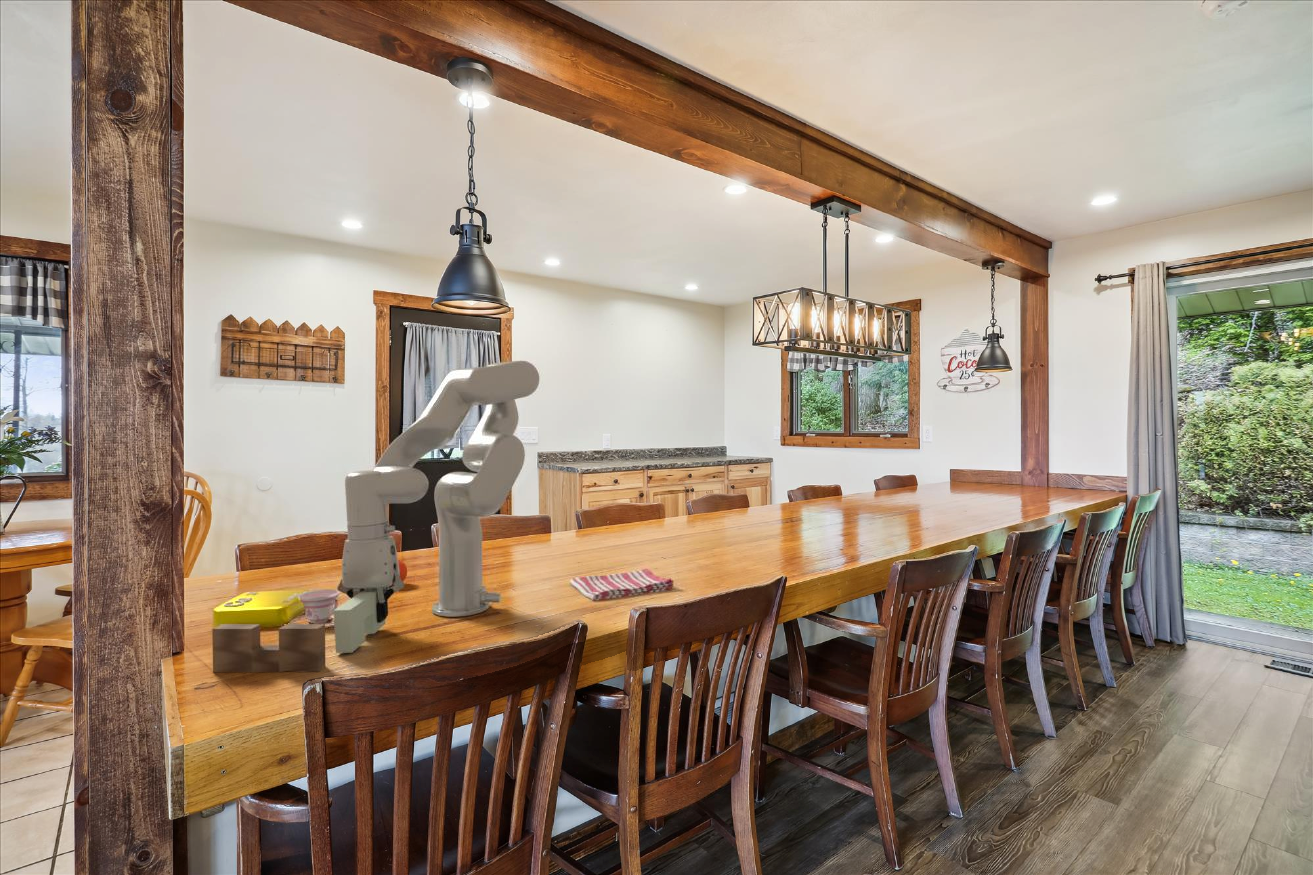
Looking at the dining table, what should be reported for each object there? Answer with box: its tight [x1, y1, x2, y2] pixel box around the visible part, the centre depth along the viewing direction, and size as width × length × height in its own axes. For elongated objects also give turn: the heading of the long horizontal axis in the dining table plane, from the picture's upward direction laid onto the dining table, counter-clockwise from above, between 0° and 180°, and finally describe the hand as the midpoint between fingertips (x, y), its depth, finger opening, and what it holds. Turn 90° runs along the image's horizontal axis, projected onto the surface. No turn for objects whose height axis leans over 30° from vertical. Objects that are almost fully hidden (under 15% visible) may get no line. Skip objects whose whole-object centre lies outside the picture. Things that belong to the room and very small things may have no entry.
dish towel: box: [569, 568, 674, 602], centre depth 165 cm, size 17×23×4 cm
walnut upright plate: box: [211, 623, 326, 673], centre depth 110 cm, size 18×2×8 cm, turn 91°
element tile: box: [212, 589, 310, 629], centre depth 140 cm, size 15×15×5 cm
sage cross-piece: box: [333, 588, 386, 654], centre depth 124 cm, size 3×15×8 cm, turn 1°
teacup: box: [289, 588, 341, 629], centre depth 137 cm, size 12×12×6 cm
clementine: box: [390, 559, 408, 587], centre depth 166 cm, size 8×7×7 cm
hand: (372, 619), depth 129 cm, fingers closed on sage cross-piece, 3 cm apart
